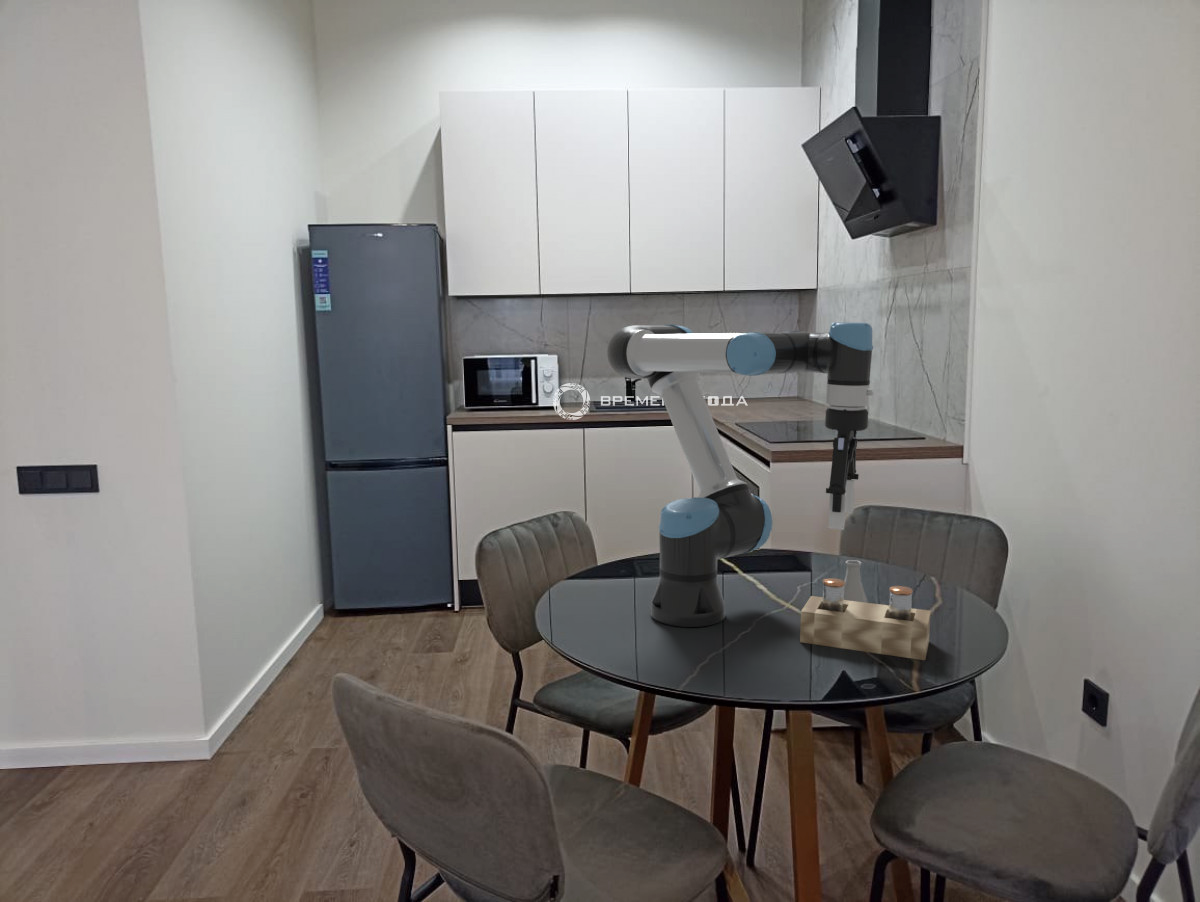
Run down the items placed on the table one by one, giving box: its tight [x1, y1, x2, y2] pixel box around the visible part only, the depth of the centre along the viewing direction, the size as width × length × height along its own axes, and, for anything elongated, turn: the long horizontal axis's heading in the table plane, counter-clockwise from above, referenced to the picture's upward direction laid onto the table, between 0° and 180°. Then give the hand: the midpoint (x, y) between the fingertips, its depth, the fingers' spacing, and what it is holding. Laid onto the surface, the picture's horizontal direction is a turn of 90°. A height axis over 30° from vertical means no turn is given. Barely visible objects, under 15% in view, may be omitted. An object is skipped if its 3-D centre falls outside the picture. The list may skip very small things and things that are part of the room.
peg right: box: [888, 585, 914, 621], centre depth 159 cm, size 4×4×6 cm
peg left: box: [822, 577, 845, 612], centre depth 163 cm, size 4×4×6 cm
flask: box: [843, 559, 869, 603], centre depth 181 cm, size 7×7×10 cm
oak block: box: [799, 595, 932, 661], centre depth 162 cm, size 22×10×6 cm, turn 66°
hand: (840, 520), depth 162 cm, fingers open, 13 cm apart
